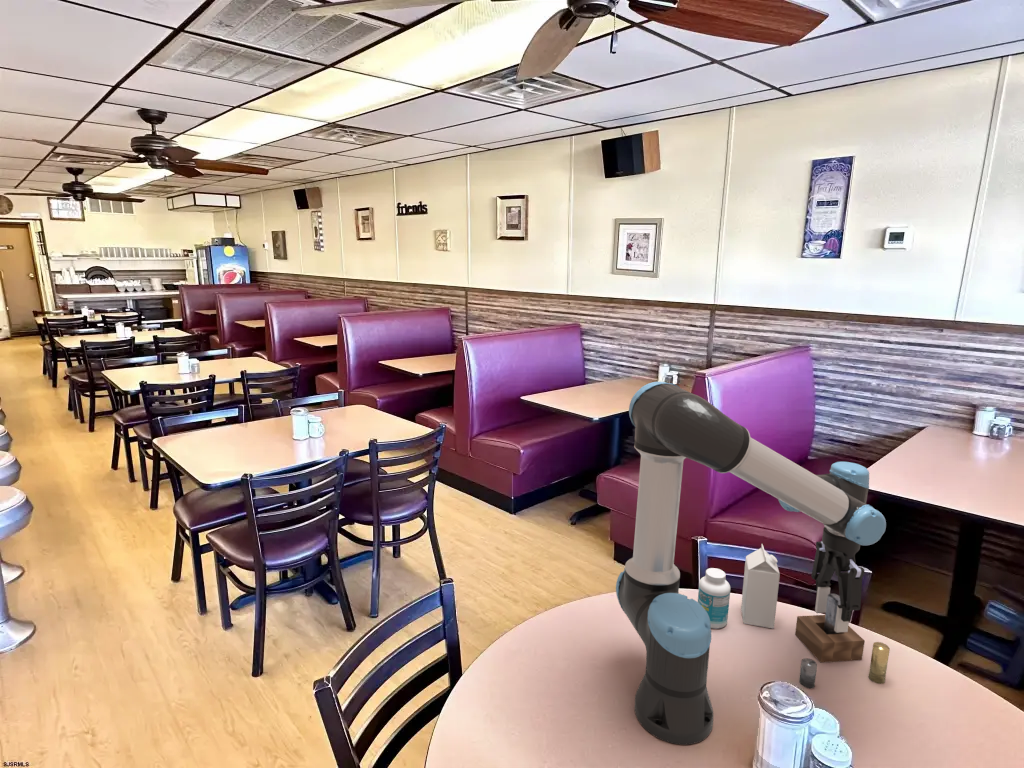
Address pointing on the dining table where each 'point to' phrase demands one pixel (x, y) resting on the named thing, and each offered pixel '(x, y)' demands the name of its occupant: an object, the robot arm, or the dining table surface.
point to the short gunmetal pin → (808, 673)
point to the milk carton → (760, 589)
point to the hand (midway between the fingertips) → (830, 621)
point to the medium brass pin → (879, 662)
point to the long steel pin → (831, 613)
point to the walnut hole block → (828, 640)
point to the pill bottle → (715, 596)
